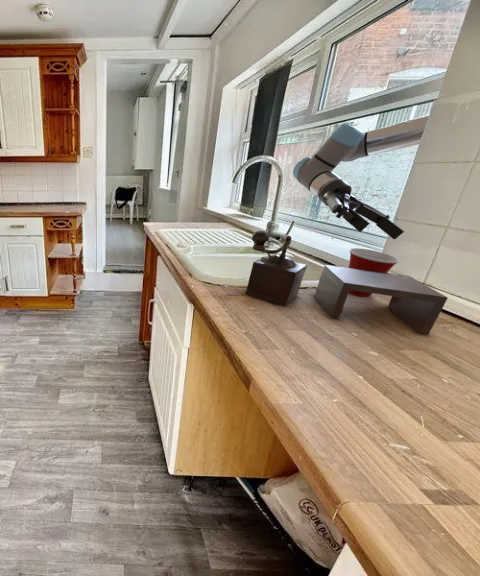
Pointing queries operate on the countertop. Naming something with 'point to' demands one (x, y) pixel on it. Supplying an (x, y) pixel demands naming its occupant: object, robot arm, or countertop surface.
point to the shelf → (404, 290)
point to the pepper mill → (274, 273)
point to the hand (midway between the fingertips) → (382, 231)
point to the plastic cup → (370, 263)
